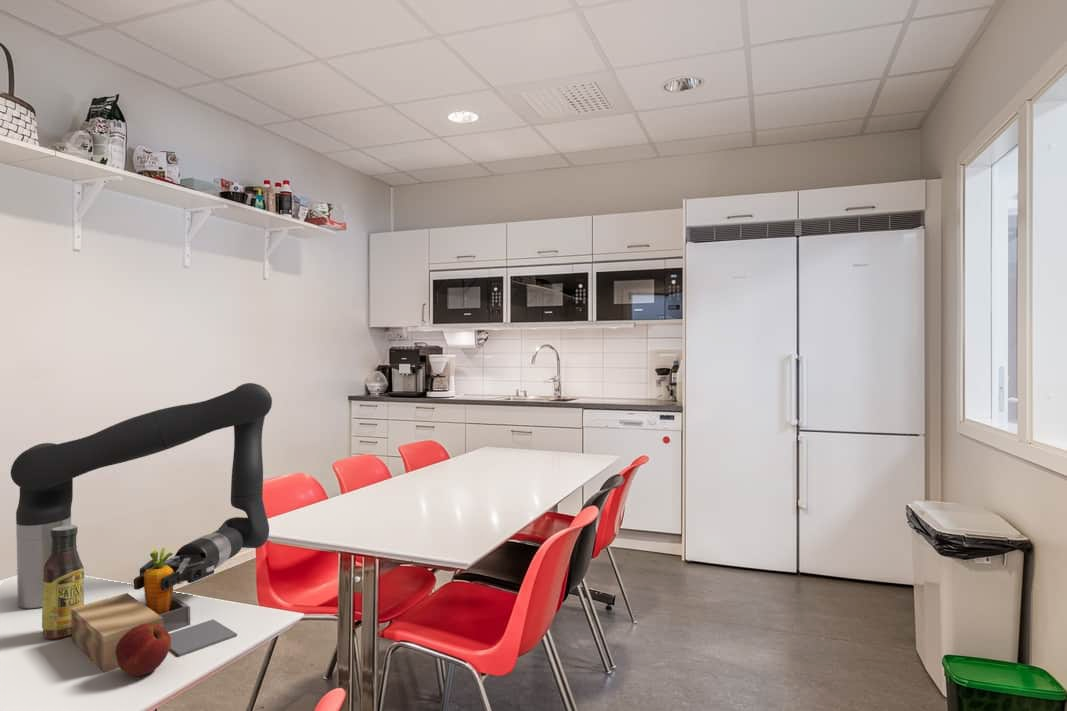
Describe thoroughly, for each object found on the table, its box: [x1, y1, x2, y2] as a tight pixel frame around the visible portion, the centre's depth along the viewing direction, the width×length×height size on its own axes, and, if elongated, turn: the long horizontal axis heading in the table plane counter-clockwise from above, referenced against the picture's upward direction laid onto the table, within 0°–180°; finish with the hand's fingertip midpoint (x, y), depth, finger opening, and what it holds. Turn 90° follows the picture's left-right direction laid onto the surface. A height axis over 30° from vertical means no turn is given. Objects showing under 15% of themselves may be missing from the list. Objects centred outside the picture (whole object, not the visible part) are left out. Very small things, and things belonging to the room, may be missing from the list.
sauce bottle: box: [41, 524, 85, 640], centre depth 118 cm, size 7×6×20 cm
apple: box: [115, 623, 171, 677], centre depth 103 cm, size 7×8×8 cm
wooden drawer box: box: [71, 592, 191, 673], centre depth 115 cm, size 18×16×6 cm
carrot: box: [143, 547, 174, 615], centre depth 120 cm, size 5×5×15 cm
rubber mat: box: [169, 618, 238, 657], centre depth 115 cm, size 10×10×1 cm
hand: (149, 584), depth 118 cm, fingers closed on carrot, 4 cm apart
